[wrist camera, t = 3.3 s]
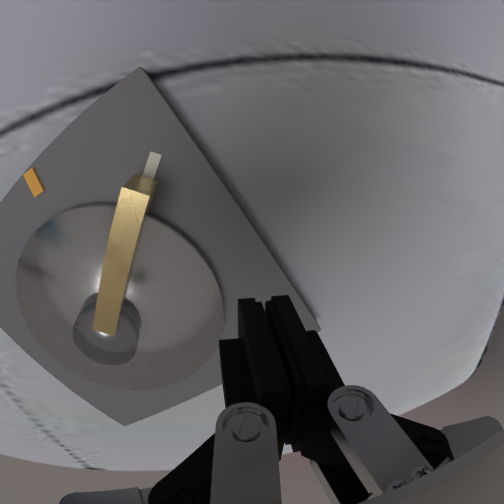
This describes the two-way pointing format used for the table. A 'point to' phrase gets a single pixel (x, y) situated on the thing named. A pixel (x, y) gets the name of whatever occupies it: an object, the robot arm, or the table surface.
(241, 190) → the table surface
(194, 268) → the capstan dial
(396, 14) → the table surface
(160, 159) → the dial base
